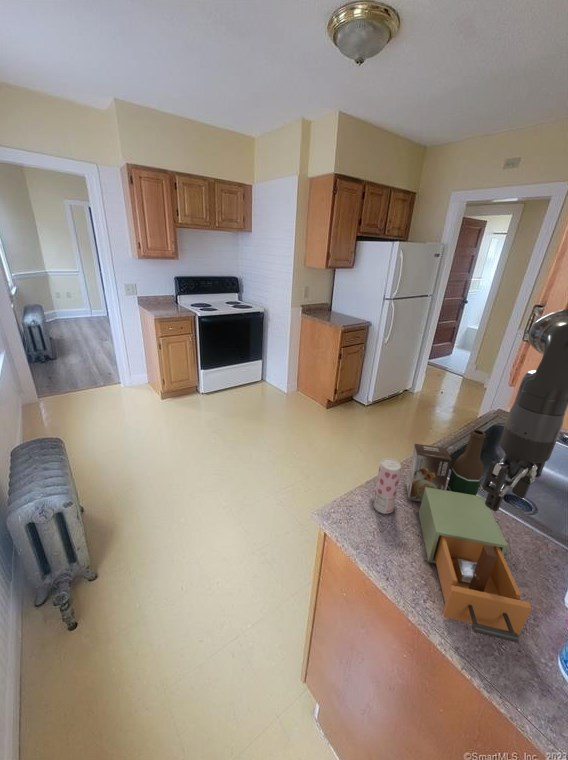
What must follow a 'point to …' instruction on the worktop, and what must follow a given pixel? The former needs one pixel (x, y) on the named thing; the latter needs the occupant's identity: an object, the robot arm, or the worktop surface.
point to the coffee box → (427, 470)
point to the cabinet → (457, 520)
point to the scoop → (476, 569)
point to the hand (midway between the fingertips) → (505, 501)
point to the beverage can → (387, 485)
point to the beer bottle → (468, 467)
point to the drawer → (481, 609)
